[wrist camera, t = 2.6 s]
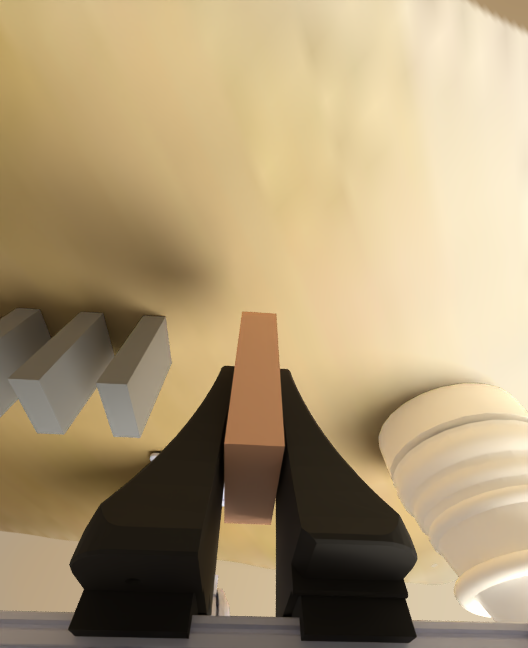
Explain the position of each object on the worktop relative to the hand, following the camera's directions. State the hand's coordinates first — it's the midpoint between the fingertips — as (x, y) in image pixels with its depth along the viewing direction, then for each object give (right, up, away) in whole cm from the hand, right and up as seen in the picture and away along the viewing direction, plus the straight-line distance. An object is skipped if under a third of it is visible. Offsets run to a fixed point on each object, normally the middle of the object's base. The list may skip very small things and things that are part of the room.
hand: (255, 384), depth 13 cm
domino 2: (-12, +2, +9) cm, 16 cm away
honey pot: (+18, -8, +16) cm, 25 cm away
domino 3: (-8, +1, +10) cm, 12 cm away
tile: (0, +1, +2) cm, 2 cm away
